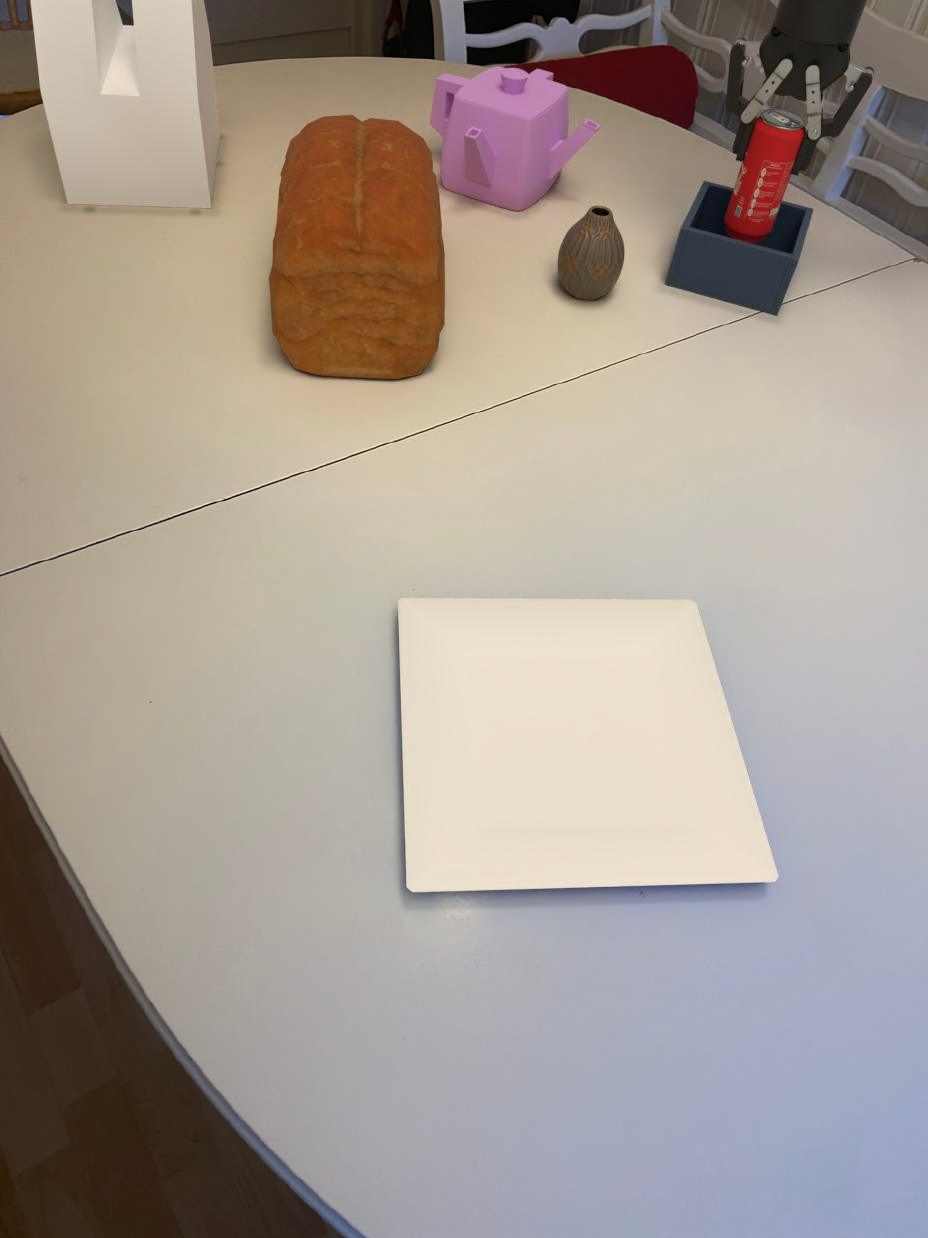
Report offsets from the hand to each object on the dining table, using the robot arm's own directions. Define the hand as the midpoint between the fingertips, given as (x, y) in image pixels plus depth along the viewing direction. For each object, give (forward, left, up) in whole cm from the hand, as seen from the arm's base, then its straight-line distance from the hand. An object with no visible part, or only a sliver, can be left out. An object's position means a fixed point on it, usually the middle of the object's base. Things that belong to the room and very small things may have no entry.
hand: (767, 164), depth 96 cm
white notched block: (+68, +12, -12) cm, 70 cm away
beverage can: (0, 0, -8) cm, 8 cm away
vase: (+14, +12, -12) cm, 22 cm away
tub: (0, 0, -12) cm, 12 cm away
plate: (-1, +68, -12) cm, 69 cm away
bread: (+34, +26, -12) cm, 45 cm away
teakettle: (+30, -7, -12) cm, 33 cm away
